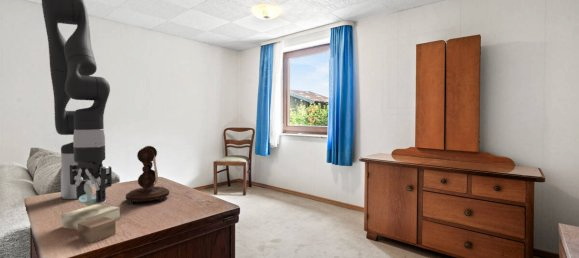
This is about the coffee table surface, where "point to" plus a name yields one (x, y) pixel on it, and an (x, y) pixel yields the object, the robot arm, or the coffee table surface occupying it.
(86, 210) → the ash block
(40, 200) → the coffee table surface
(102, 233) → the walnut block
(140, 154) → the dark brown sculpture
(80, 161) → the robot arm
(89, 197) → the pacifier
